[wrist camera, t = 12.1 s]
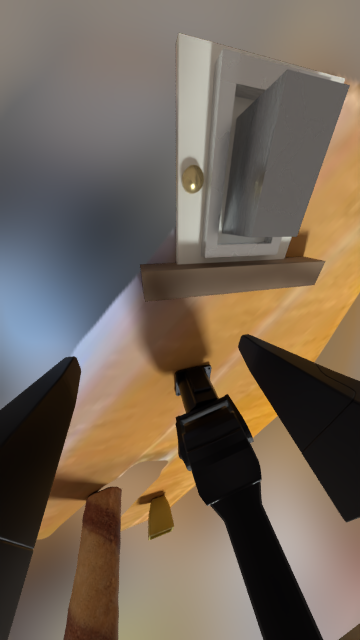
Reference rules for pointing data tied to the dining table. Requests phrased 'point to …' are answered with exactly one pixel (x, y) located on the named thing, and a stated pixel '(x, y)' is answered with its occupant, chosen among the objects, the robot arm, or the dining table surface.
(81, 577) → the wafer roll
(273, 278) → the brown wooden bar
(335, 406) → the robot arm
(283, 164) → the block
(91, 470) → the dining table surface
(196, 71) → the mini door model
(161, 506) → the flower pot
